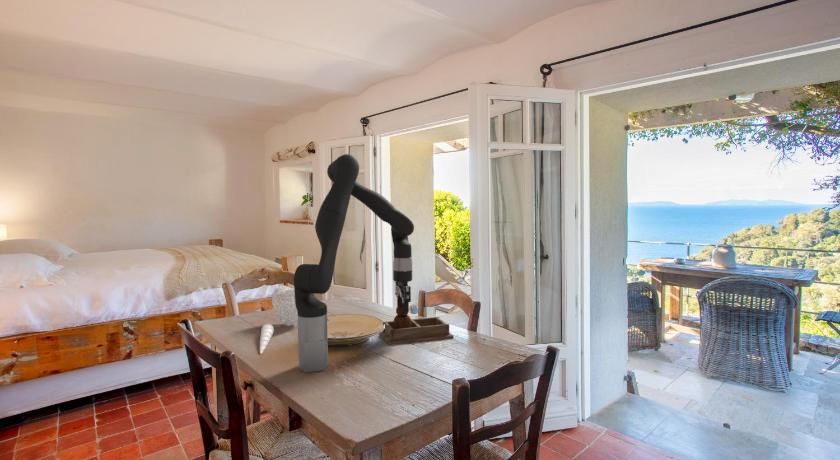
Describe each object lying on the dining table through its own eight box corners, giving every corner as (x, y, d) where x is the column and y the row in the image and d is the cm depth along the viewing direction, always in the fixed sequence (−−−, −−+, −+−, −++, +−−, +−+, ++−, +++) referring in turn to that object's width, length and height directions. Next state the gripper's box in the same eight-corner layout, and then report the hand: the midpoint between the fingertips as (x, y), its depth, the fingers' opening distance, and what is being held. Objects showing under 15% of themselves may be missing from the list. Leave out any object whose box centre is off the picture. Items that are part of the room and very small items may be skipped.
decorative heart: (266, 325, 179) (265, 286, 178) (285, 319, 188) (285, 282, 187) (293, 332, 169) (293, 291, 168) (313, 325, 178) (312, 286, 177)
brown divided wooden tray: (453, 338, 160) (453, 325, 160) (388, 345, 152) (388, 332, 152) (439, 326, 176) (439, 315, 175) (379, 332, 168) (379, 320, 167)
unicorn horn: (249, 356, 143) (248, 342, 142) (262, 335, 166) (261, 324, 166) (263, 355, 143) (262, 341, 143) (274, 334, 167) (274, 323, 166)
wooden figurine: (413, 333, 163) (413, 295, 162) (405, 337, 158) (405, 298, 157) (399, 330, 166) (399, 294, 165) (391, 334, 161) (390, 296, 161)
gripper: (389, 266, 166) (389, 306, 167) (397, 271, 153) (398, 314, 154) (406, 266, 169) (407, 305, 169) (417, 270, 155) (417, 313, 156)
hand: (402, 309), depth 161 cm, fingers open, 8 cm apart
